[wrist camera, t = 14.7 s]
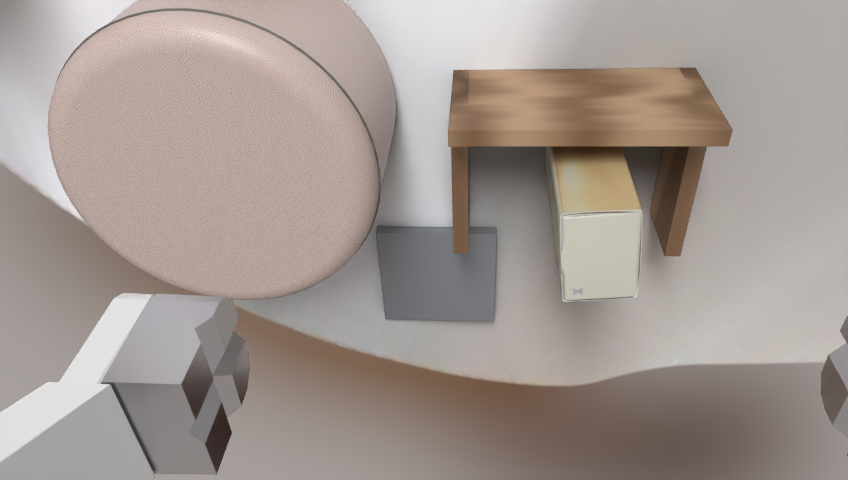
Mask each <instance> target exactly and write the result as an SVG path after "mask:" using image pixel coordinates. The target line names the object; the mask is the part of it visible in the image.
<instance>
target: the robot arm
mask: <svg viewBox="0 0 848 480" xmlns="http://www.w3.org/2000/svg"><path fill="white" fill-rule="evenodd" d="M238 318H239V317H238V314H237V311H236V308H235V305H234V302H233V300H232V299H230V298H227V297H219V296H195V295H172V294H157V295H152V294H132V293H123V294H121V295H119V296H118V297H116V298H114V299H113V300H112V302H111V303H110V305H109V306H108V308H107V309H106V311H105V312H104V314H103V316H102V317H101V319H100V320H99V322H98V323H97V325H96V326H95V328H94V329H93V331H92V332H91V334H90V335H89V337H88V338H87V340H86V341H85V343H84V345H83V346H82V348H81V349H80V351H79V352H78V354H77V355H76V357H75V358H74V360H73V361H72V363H71V364H70V366H69V368H68V369H67V370H66V372H65V374H64V375H63V377H62V378H61V380H60V381H59V382H47V383H46V384H44V385H43V386H41V387H40V388H38V389H36V390H35V391H33V392H32V393H30V394H29V395H27V396H25V397H24V398H22V399H21V400H19V401H18V402H16V403H14V404H13V405H11V406H10V407H8V408H7V409H5V410H4V411H2V412H0V480H153V479H154V478H155V475H154V474H215V475H217V472H218V470H219V467H220V464H221V461H222V459H223V456H224V453H225V450H226V447H227V445H228V442H229V439H230V437H231V434H232V431H231V428H230V425H229V422H228V419H227V417H229V416H230V415H231V414H232V413H233V412H235V411H236V410H237V409H238V408H239V407H241V406H242V403H243V400H244V397H245V394H246V391H247V387H248V379H249V371H250V363H249V352H248V349H247V345H246V341H245V340H244V339H243V338H242V337H241V336H239V335H238V334H237V333H236V332H235V331H233V330H234V328H235V325H236V323H237V320H238ZM840 332H841V333H842V335H843V337H844V339H845V341H846V344H844V345H843V346H841V347H840V348H838V349H837V350H835V351H834V352H832V353H831V354H829V355H828V357H827V360H826V362H825V365H824V367H823V370H822V373H821V396H822V400H823V404H824V408H825V410H826V413H827V415H828V417H829V419H830V421H831V423H832V425H833V426H834V427H835V428H837V429H838V430H839V431H841V432H842V433H843V434H844V435H846V436H847V437H848V316H847V317H846V319H845V321H844V323H843V325H842V328H841V330H840ZM847 456H848V454H847Z"/></svg>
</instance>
